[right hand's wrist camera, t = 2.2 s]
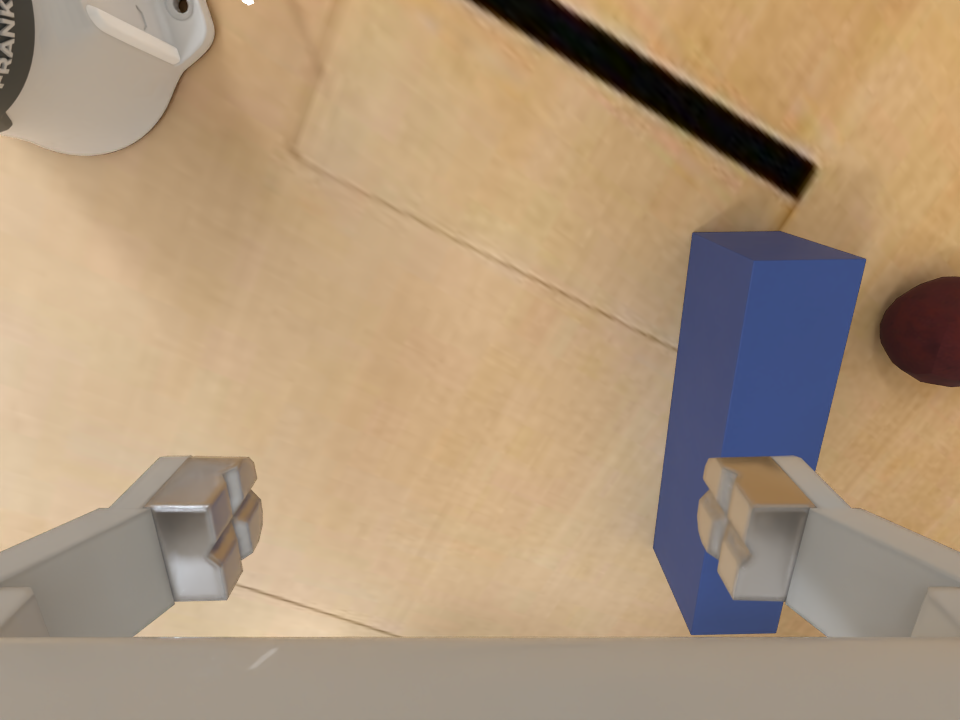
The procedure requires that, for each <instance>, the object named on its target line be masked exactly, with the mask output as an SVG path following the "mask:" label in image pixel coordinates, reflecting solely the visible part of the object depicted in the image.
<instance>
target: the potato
mask: <svg viewBox="0 0 960 720" xmlns="http://www.w3.org/2000/svg"><path fill="white" fill-rule="evenodd" d="M880 339H881V343H882V345H883V347H884V349H885V351H886V353H887V354H888V356H889V358H890V359H891V361H892V362H893V363H894V364H895V365H896V366H898V367H899V368H900V369H901V370H903V371H904V372H906V373H908V374H909V375H911V376H912V377H914V378H915V379H917V380H919V381H920V382H925V383H930V384H936V385H942V386H948V387H959V386H960V277H941V278H938V279H935V280H932V281H929V282H926V283H923V284H920V285H918V286H916V287H914V288H913V289H911V290H909V291H908V292H906V293H905V294H903V295H902V296H900V297H899V298H897V299H896V300H895V301H894V302H893V303H892V305H891V306H890V307H889V308H888V309H887V310H886V312H885V314H884V316H883V319H882V321H881V323H880Z"/></svg>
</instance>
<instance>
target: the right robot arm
mask: <svg viewBox="0 0 960 720" xmlns="http://www.w3.org/2000/svg"><path fill="white" fill-rule="evenodd" d="M186 1H187V3H188V9H187V11H186V12H184V13H181V11H180V9H179V2H180V0H0V135H1V136H7V137H11V138H16V139H20V140H24V141H28V142H30V143H33V144H35V145H37V146H40V147H43V148H45V149H48V150H51V151H55V152H59V153H63V154H69V155H78V156H93V155H102V154H107V153H112V152H115V151H118V150H121V149H123V148H125V147H127V146H129V145H131V144H133V143H135V142H136V141H138V140H139V139H141V138H142V137H143V136H144V135H146V134H147V133H148V132H149V131H150V130H151V129H152V128H153V127H154V126H155V124H156V123H157V122H158V121H159V119H160V118H161V117H162V115H163V113H164V112H165V110H166V108H167V106H168V104H169V102H170V100H171V97H172V95H173V92H174V90H175V87H176V85H177V83H178V81H179V79H180V77H181V75H182V74H183V72H184V71H185V70H186V69H187V68H189V67H190V66H191V65H192V64H193V63H195V62H196V61H197V60H198V59H199V58H200V57H201V56H202V55H203V54H204V53H205V52H206V51H207V50H208V49H209V48H210V46H211V44H212V42H213V40H214V35H215V30H214V24H213V21H212V18H211V15H210V12H209V9H208V6H207V3H206V0H186ZM242 1H243V2H245V3H246V4H248V5H250V4H252V3H254V2H253V0H242ZM256 480H257V475H256V470H255V465H254V462H253V461H252V460H251V459H250V458H249V457H221V456H165V457H160V458H159V459H158V460H157V461H156V462H155V463H154V464H153V465H152V466H151V467H150V468H149V469H148V470H147V471H146V472H145V473H144V474H143V475H142V476H141V477H140V478H139V479H138V480H137V481H136V482H134V483H133V484H132V485H131V486H130V487H129V488H128V489H127V490H126V491H125V492H124V493H123V494H122V495H121V496H120V497H119V498H118V499H117V500H116V501H115V502H114V503H113V504H112V505H111V506H110V507H109V508H99V509H97V510H94V511H92V512H90V513H87V514H85V515H83V516H81V517H78V518H76V519H74V520H72V521H69V522H67V523H65V524H63V525H60V526H58V527H56V528H53V529H51V530H49V531H47V532H44V533H42V534H40V535H38V536H35V537H33V538H31V539H29V540H26V541H24V542H22V543H19V544H17V545H15V546H13V547H10V548H8V549H6V550H4V551H1V552H0V720H960V552H958V551H956V550H954V549H952V548H949V547H947V546H945V545H943V544H940V543H938V542H936V541H934V540H931V539H929V538H927V537H924V536H922V535H920V534H918V533H915V532H913V531H911V530H909V529H906V528H904V527H902V526H900V525H897V524H895V523H893V522H891V521H888V520H886V519H884V518H882V517H879V516H877V515H875V514H873V513H870V512H868V511H866V510H863V509H861V508H851V507H850V506H849V505H848V504H847V503H846V502H845V501H844V500H843V499H842V498H841V497H840V496H839V495H838V494H837V493H836V492H835V491H834V490H833V489H832V488H831V487H830V486H829V485H828V484H827V483H826V482H825V481H824V480H823V479H822V478H821V477H820V476H819V475H818V474H817V473H816V472H815V471H814V470H813V469H812V468H811V467H810V466H809V465H808V464H807V463H806V462H805V461H804V460H803V459H802V458H800V457H797V456H794V455H789V456H761V457H721V458H709V459H708V461H707V463H706V465H705V469H704V474H703V480H704V481H705V483H706V484H707V486H708V488H709V490H708V491H707V492H706V493H705V494H704V495H703V496H702V497H701V498H700V499H699V505H698V512H697V521H698V531H699V535H700V538H701V541H702V544H703V546H704V548H705V549H706V551H707V553H709V554H710V555H712V556H713V557H715V558H716V559H718V560H719V563H718V569H717V572H718V574H719V575H720V577H721V579H722V581H723V583H724V584H725V586H726V588H727V590H728V592H729V593H730V595H731V597H732V599H733V600H746V601H782V602H786V603H785V604H786V605H787V606H789V607H790V608H791V609H792V610H794V611H795V612H796V613H798V614H799V615H800V616H801V617H803V618H804V619H805V620H806V621H808V622H809V623H810V624H812V625H813V626H814V627H815V628H817V629H818V630H819V631H821V632H822V633H823V634H824V635H826V636H827V637H133V636H135V635H136V634H137V633H138V632H140V631H141V630H142V629H144V628H145V627H146V626H147V625H149V624H150V623H151V622H152V621H154V620H155V619H156V618H158V617H159V616H160V615H161V614H163V613H164V612H165V611H167V610H168V609H169V608H170V607H172V606H173V605H174V604H175V603H174V602H178V601H213V600H227V599H228V597H229V595H230V594H231V592H232V590H233V588H234V586H235V585H236V583H237V581H238V579H239V577H240V575H241V574H242V572H243V568H242V563H241V560H242V559H244V558H245V557H247V556H248V555H250V554H252V553H253V551H254V549H255V548H256V546H257V544H258V542H259V538H260V534H261V530H262V525H263V510H262V504H261V499H260V498H259V497H258V496H257V495H256V494H255V493H254V492H253V491H252V490H251V488H252V486H253V484H254V483H255V481H256Z"/></svg>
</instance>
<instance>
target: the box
mask: <svg viewBox="0 0 960 720" xmlns="http://www.w3.org/2000/svg"><path fill="white" fill-rule="evenodd" d="M865 263H866V259H865V258H862V257H858V256H855V255H852V254H849V253H846V252H843V251H840V250H837V249H834V248H831V247H828V246H825V245H821V244H818V243H815V242H812V241H809V240H806V239H803V238H800V237H797V236H794V235H791V234H788V233H784V232H781V231H759V232H694V233H692V241H691V249H690V257H689V265H688V273H687V281H686V289H685V297H684V305H683V313H682V321H681V329H680V337H679V345H678V353H677V360H676V368H675V376H674V384H673V392H672V400H671V408H670V416H669V424H668V432H667V440H666V448H665V456H664V464H663V472H662V480H661V488H660V496H659V504H658V512H657V520H656V528H655V536H654V544H653V549H654V551H655V554H656V556H657V558H658V560H659V563H660V565H661V567H662V570H663V572H664V574H665V576H666V579H667V581H668V583H669V586H670V588H671V590H672V592H673V595H674V597H675V599H676V602H677V604H678V606H679V608H680V611H681V613H682V615H683V618H684V620H685V622H686V624H687V627H688V629H689V631H690V634H691V635H715V634H762V633H776V631H777V627H778V623H779V619H780V614H781V610H782V606H783V602H782V601H746V600H733V599H732V597H731V595H730V593H729V592H728V590H727V588H726V586H725V584H724V583H723V581H722V579H721V577H720V575H719V574H718V572H717V569H718V563H719V560H718V559H716V558H715V557H713V556H712V555H710V554H709V553H707V551H706V549H705V548H704V546H703V544H702V541H701V538H700V535H699V531H698V521H697V512H698V505H699V499H700V498H701V497H702V496H703V495H704V494H705V493H706V492H707V491H708V490H709V488H708V486H707V484H706V483H705V481H704V480H703V474H704V469H705V465H706V463H707V461H708V459H709V458H721V457H761V456H789V455H794V456H797V457H800V458H802V459H803V460H804V461H805V462H806V463H807V464H808V465H809V466H810V467H811V468H812V469H813V470H814V471H815V470H816V466H817V461H818V457H819V453H820V449H821V445H822V441H823V437H824V432H825V428H826V424H827V420H828V416H829V412H830V408H831V404H832V399H833V395H834V391H835V387H836V383H837V379H838V375H839V370H840V366H841V362H842V358H843V354H844V350H845V346H846V341H847V337H848V333H849V329H850V325H851V321H852V317H853V313H854V308H855V304H856V300H857V296H858V292H859V288H860V284H861V279H862V275H863V271H864V267H865Z"/></svg>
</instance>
